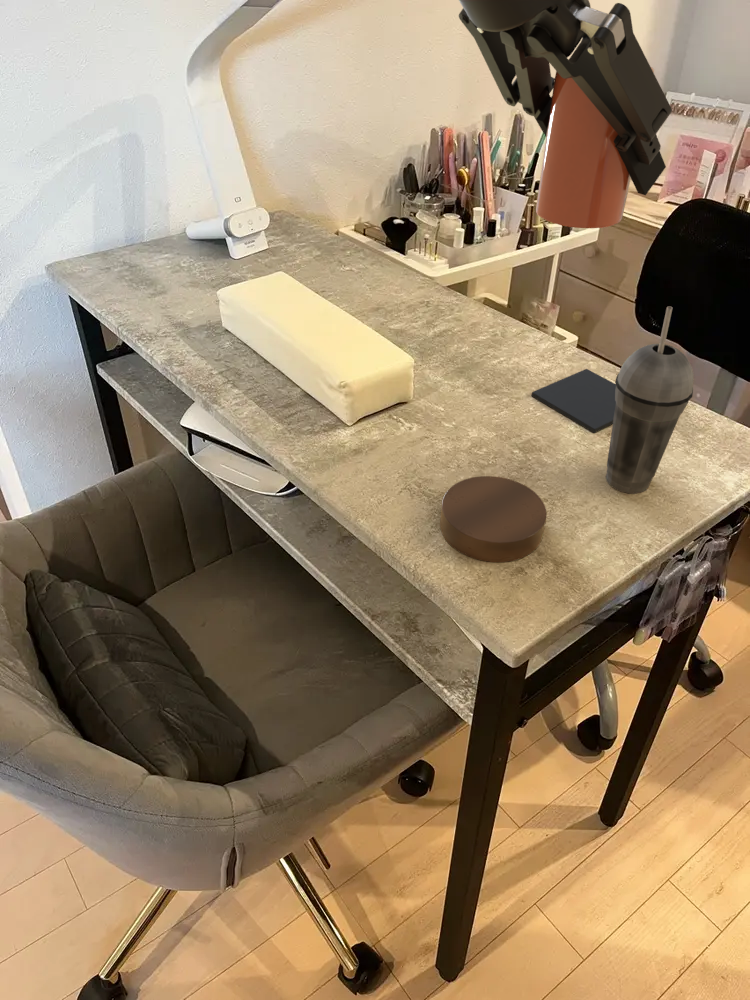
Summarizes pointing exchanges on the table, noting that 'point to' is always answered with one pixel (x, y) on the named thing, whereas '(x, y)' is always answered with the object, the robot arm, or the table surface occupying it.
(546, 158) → the terracotta cylinder
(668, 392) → the beverage cup
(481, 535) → the saucer
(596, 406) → the mat
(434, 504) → the table surface
